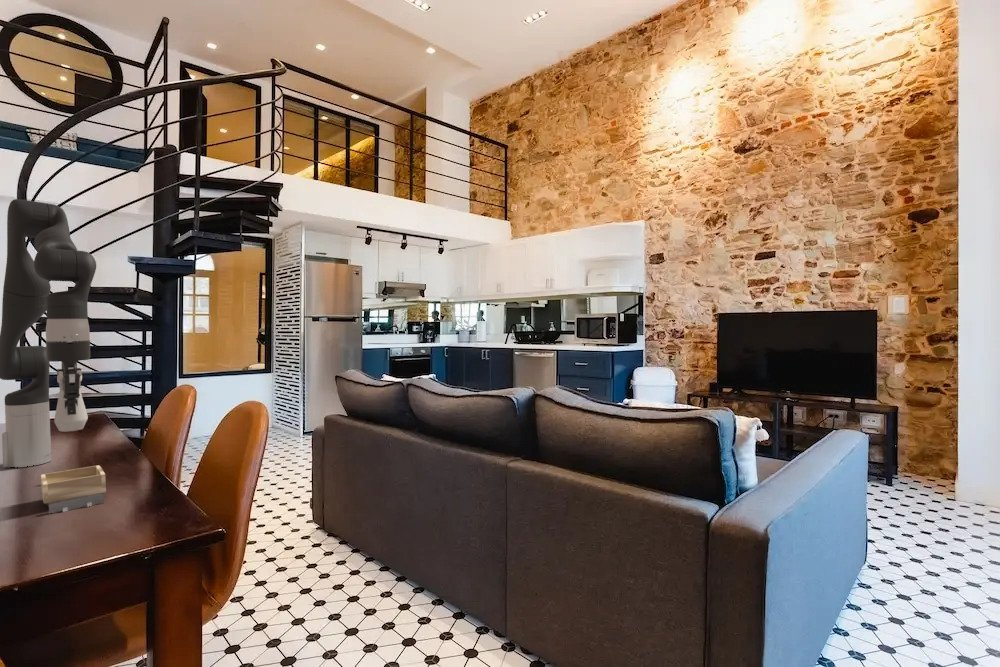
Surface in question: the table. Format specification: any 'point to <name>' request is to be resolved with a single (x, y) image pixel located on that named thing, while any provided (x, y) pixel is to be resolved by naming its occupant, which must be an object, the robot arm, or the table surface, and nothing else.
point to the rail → (76, 503)
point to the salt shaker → (70, 415)
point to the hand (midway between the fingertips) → (70, 415)
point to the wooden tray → (72, 484)
